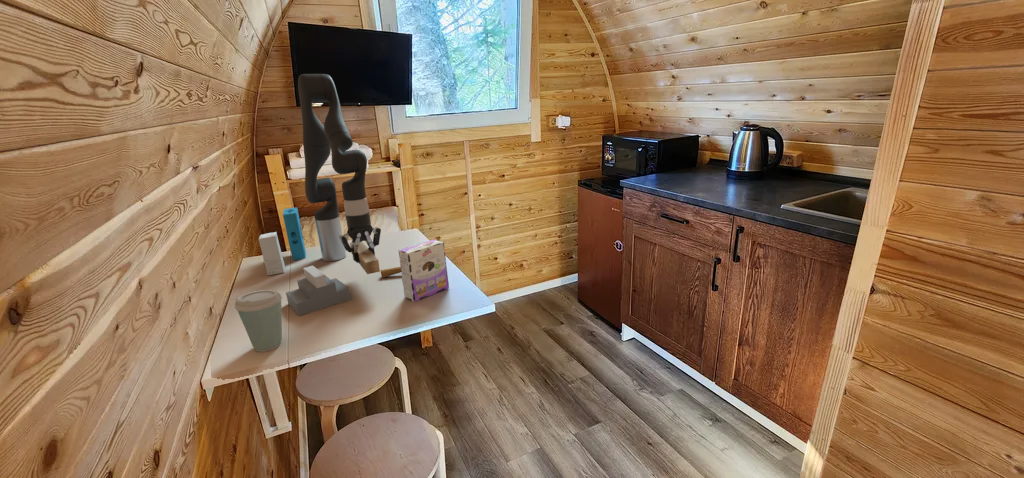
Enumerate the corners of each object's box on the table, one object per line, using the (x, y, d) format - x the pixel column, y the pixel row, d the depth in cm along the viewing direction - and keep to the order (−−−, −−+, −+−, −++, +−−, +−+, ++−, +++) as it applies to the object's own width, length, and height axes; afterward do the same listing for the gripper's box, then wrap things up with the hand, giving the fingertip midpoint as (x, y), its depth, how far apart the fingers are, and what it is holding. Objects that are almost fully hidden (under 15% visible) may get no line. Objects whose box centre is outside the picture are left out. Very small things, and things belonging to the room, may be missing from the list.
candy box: (439, 284, 151) (434, 238, 146) (449, 288, 147) (444, 241, 142) (404, 297, 142) (397, 249, 137) (414, 302, 138) (407, 252, 133)
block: (305, 259, 184) (296, 213, 178) (292, 261, 182) (282, 214, 176) (306, 251, 194) (297, 207, 188) (293, 253, 193) (284, 208, 187)
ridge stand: (288, 303, 142) (281, 273, 139) (338, 289, 151) (332, 260, 148) (299, 315, 133) (292, 283, 130) (351, 299, 143) (345, 269, 139)
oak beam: (367, 274, 140) (365, 262, 139) (351, 253, 160) (349, 242, 159) (379, 271, 142) (378, 259, 141) (362, 251, 162) (361, 240, 161)
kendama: (382, 285, 156) (433, 272, 159) (378, 268, 155) (428, 255, 158) (385, 281, 164) (432, 269, 166) (380, 265, 163) (428, 252, 165)
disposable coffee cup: (261, 336, 122) (249, 286, 117) (299, 335, 121) (288, 284, 117) (237, 357, 112) (222, 303, 107) (278, 356, 111) (265, 302, 107)
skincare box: (284, 273, 170) (276, 236, 165) (266, 276, 167) (258, 238, 163) (285, 266, 177) (277, 230, 172) (268, 269, 175) (259, 233, 170)
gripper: (373, 206, 152) (379, 252, 158) (331, 214, 144) (339, 263, 149) (382, 209, 147) (388, 257, 152) (339, 218, 138) (348, 268, 144)
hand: (364, 259), depth 151 cm, fingers closed on oak beam, 4 cm apart
